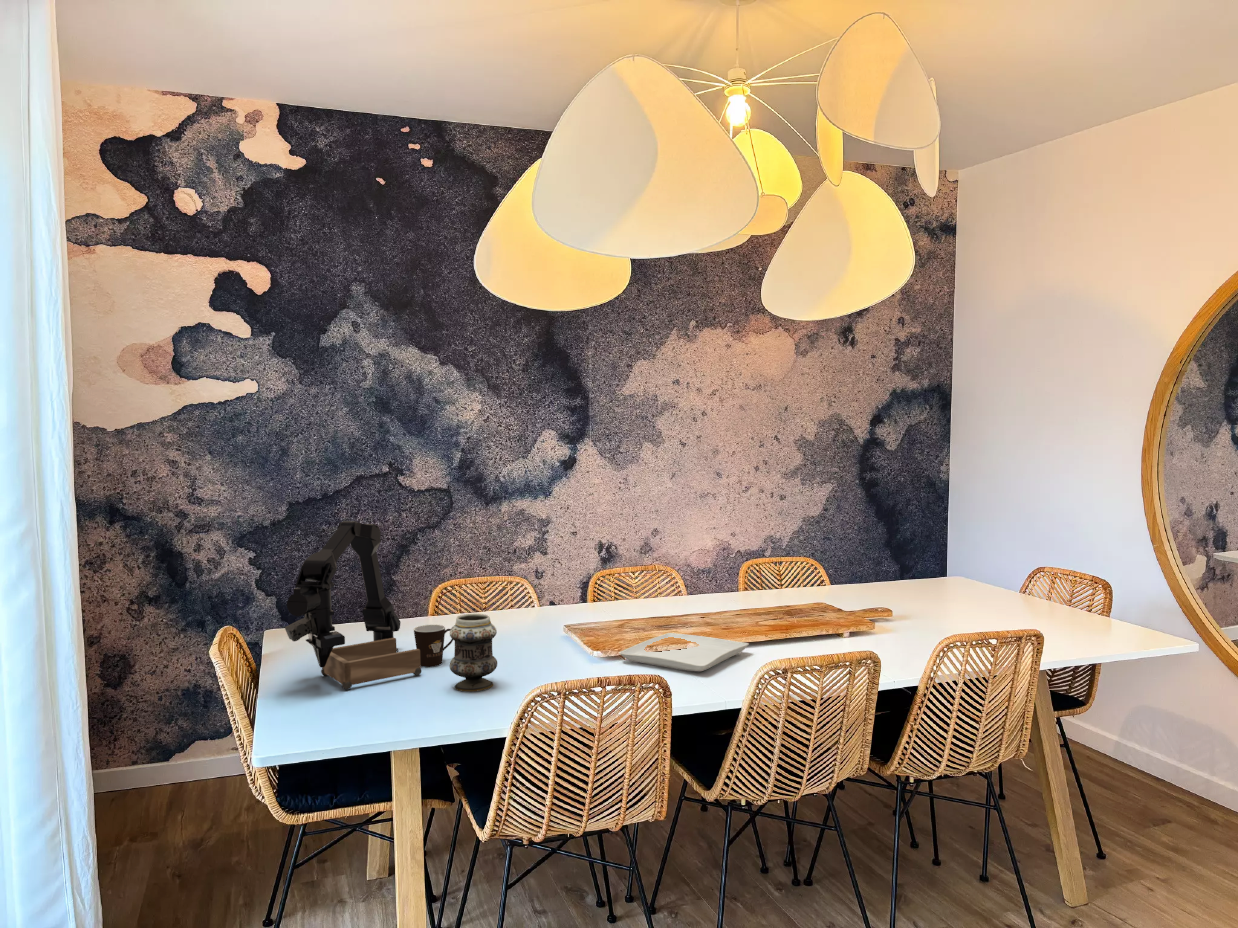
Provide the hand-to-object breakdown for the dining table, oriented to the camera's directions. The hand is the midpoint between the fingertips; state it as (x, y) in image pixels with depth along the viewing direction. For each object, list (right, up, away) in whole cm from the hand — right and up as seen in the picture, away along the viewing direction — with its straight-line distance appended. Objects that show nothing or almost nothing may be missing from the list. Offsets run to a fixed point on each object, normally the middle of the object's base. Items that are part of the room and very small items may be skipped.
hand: (322, 666), depth 238 cm
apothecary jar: (+40, -5, -3) cm, 40 cm away
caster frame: (+11, -4, +8) cm, 15 cm away
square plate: (+95, -3, +20) cm, 97 cm away
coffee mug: (+25, -3, +19) cm, 32 cm away
